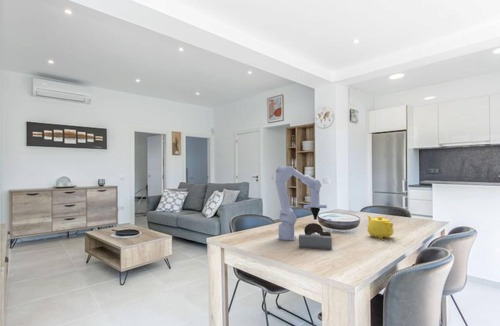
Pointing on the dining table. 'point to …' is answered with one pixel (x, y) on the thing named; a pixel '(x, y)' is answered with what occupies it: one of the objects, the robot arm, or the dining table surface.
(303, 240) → the block
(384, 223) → the teapot
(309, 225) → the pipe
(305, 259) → the dining table surface
